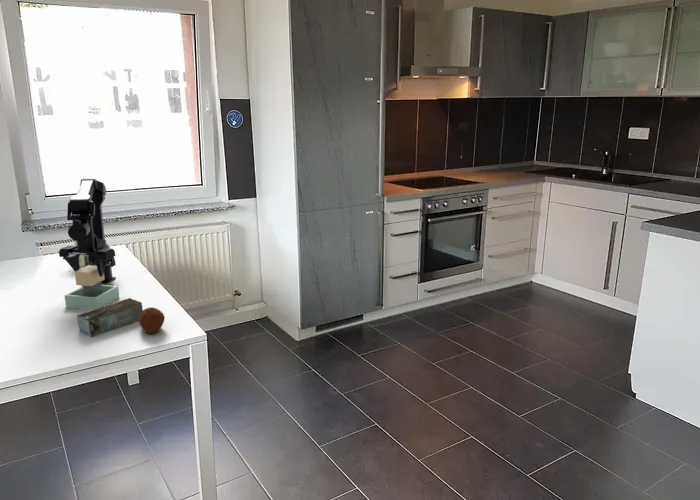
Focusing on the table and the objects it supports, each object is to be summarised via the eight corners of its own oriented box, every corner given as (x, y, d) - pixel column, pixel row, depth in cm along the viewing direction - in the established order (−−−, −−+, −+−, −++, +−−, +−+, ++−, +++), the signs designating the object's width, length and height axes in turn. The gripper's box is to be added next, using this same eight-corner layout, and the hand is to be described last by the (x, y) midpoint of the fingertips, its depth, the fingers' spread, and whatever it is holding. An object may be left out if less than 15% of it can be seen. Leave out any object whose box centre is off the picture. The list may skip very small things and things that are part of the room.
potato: (158, 321, 179) (156, 299, 177) (171, 333, 170) (169, 310, 168) (135, 327, 174) (133, 304, 172) (146, 339, 166) (144, 315, 164)
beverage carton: (77, 332, 171) (74, 312, 169) (131, 313, 186) (130, 295, 184) (90, 338, 166) (88, 319, 164) (145, 319, 181) (143, 301, 179)
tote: (89, 294, 202) (87, 283, 200) (119, 297, 199) (118, 286, 198) (66, 307, 190) (64, 295, 189) (97, 310, 188) (96, 298, 186)
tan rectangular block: (90, 278, 197) (88, 265, 195) (104, 279, 195) (103, 266, 194) (76, 284, 189) (74, 271, 188) (91, 286, 188) (89, 272, 187)
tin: (82, 299, 195) (80, 281, 193) (100, 296, 198) (98, 278, 197) (85, 304, 190) (82, 285, 189) (103, 301, 194) (101, 282, 192)
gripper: (122, 229, 193) (126, 270, 198) (76, 226, 197) (81, 267, 201) (102, 237, 183) (107, 280, 187) (54, 234, 186) (61, 276, 191)
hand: (90, 275), depth 192 cm, fingers open, 9 cm apart
